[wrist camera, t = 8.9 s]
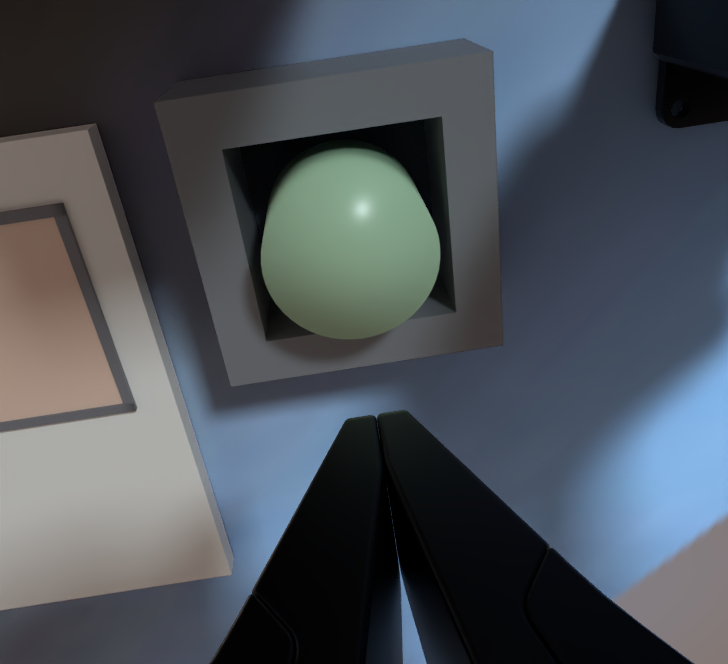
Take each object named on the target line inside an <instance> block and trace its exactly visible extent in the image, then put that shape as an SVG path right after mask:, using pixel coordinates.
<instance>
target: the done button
mask: <svg viewBox="0 0 728 664" xmlns="http://www.w3.org/2000/svg"><path fill="white" fill-rule="evenodd" d="M439 265H440V242H439V236H438V233H437V230H436V226H435V224H434V222H433V220H432V218H431V215H430V213H429V211H428V210H427V208H426V206H425V204H424V202H423V200H422V198H421V196H420V194H419V192H418V190H417V188H416V186H415V184H414V182H413V180H412V178H411V176H410V175H409V173H408V172H407V170H406V169H405V168H404V167H403V165H402V164H401V163H400V162H399V161H398V160H397V159H396V158H394V157H393V156H392V155H391V154H389V153H388V152H386V151H385V150H383V149H381V148H379V147H377V146H375V145H372V144H369V143H366V142H362V141H357V140H344V139H343V140H332V141H328V142H323V143H320V144H317V145H315V146H312V147H310V148H308V149H306V150H305V151H303V152H301V153H300V154H299V155H297V156H296V157H294V158H293V159H292V160H291V161H290V162H289V163H288V164H287V165H286V166H285V168H284V169H283V170H282V171H281V173H280V174H279V176H278V178H277V179H276V181H275V183H274V186H273V188H272V190H271V194H270V197H269V202H268V208H267V215H266V221H265V228H264V234H263V240H262V248H261V267H262V274H263V278H264V281H265V284H266V287H267V289H268V291H269V293H270V295H271V297H272V298H273V300H274V302H275V303H276V305H277V306H278V307H279V308H280V309H281V311H282V312H283V313H284V314H285V315H286V316H288V317H289V318H290V319H291V320H292V321H294V322H295V323H296V324H298V325H299V326H301V327H303V328H305V329H307V330H308V331H311V332H313V333H316V334H318V335H321V336H325V337H329V338H336V339H362V338H368V337H372V336H376V335H379V334H382V333H385V332H387V331H389V330H391V329H393V328H395V327H397V326H398V325H400V324H402V323H403V322H405V321H406V320H407V319H408V318H410V317H411V316H412V315H413V314H414V313H415V312H416V311H417V310H418V309H419V308H420V307H421V306H422V304H423V303H424V302H425V300H426V299H427V297H428V296H429V294H430V292H431V290H432V288H433V286H434V284H435V281H436V278H437V275H438V271H439Z"/></svg>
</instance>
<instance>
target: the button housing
mask: <svg viewBox="0 0 728 664" xmlns="http://www.w3.org/2000/svg"><path fill="white" fill-rule="evenodd" d="M153 103H154V106H155V110H156V114H157V117H158V121H159V125H160V128H161V132H162V136H163V139H164V143H165V147H166V150H167V154H168V158H169V161H170V165H171V169H172V172H173V176H174V180H175V183H176V187H177V191H178V194H179V198H180V202H181V205H182V209H183V213H184V216H185V220H186V224H187V227H188V231H189V235H190V238H191V242H192V246H193V249H194V253H195V257H196V260H197V264H198V268H199V271H200V275H201V279H202V282H203V286H204V290H205V293H206V297H207V301H208V304H209V308H210V312H211V315H212V319H213V323H214V326H215V330H216V334H217V337H218V341H219V345H220V348H221V352H222V356H223V359H224V363H225V367H226V370H227V374H228V378H229V381H230V385H231V387H233V386H239V385H246V384H252V383H259V382H266V381H272V380H279V379H285V378H292V377H298V376H305V375H311V374H318V373H324V372H331V371H337V370H344V369H351V368H357V367H364V366H370V365H377V364H383V363H390V362H396V361H403V360H409V359H416V358H423V357H429V356H436V355H442V354H449V353H455V352H462V351H468V350H475V349H481V348H488V347H494V346H501V345H503V325H502V296H501V268H500V239H499V210H498V182H497V153H496V124H495V96H494V67H493V51H491V50H489V49H487V48H484V47H482V46H480V45H478V44H475V43H473V42H471V41H469V40H466V39H457V40H450V41H444V42H437V43H431V44H424V45H417V46H411V47H404V48H397V49H391V50H384V51H377V52H371V53H364V54H357V55H351V56H344V57H338V58H331V59H324V60H318V61H311V62H304V63H298V64H291V65H284V66H278V67H271V68H265V69H258V70H251V71H245V72H238V73H231V74H225V75H218V76H211V77H205V78H198V79H191V80H185V81H178V82H176V83H175V84H174V85H173V86H171V87H170V88H169V89H168V90H167V91H166V92H165V93H164V94H162V95H161V96H160V97H159V98H158V99H157V100H156V101H155V102H153ZM421 119H424V127H425V138H426V150H427V162H428V174H429V185H430V197H431V209H432V220H433V222H434V224H435V226H436V230H437V233H438V236H439V242H440V265H439V271H438V275H437V278H436V281H435V284H434V286H433V288H432V290H431V292H430V294H429V296H428V297H427V299H426V300H425V302H424V303H423V304H422V306H421V307H420V308H419V309H418V310H417V311H416V312H415V313H414V314H413V315H412V316H411V317H410V318H408V319H407V320H406V321H405V322H403V323H402V324H400V325H398V326H397V327H395V328H393V329H391V330H389V331H387V332H385V333H382V334H379V335H376V336H372V337H368V338H362V339H336V338H329V337H325V336H321V335H318V334H316V333H313V332H311V331H308V330H307V329H305V328H303V327H301V326H299V325H298V324H296V323H295V322H294V321H292V320H291V319H290V318H289V317H288V316H286V315H285V314H284V313H283V312H282V311H281V309H280V308H279V307H278V306H277V305H276V303H275V302H274V300H273V298H272V297H271V295H270V293H269V291H268V289H267V287H266V284H265V281H264V278H263V274H262V267H261V243H260V239H259V234H258V230H257V225H256V220H255V216H254V211H253V207H252V202H251V198H250V193H249V189H248V184H247V179H246V175H245V170H244V166H243V161H242V157H241V152H240V148H239V147H243V146H249V145H256V144H262V143H269V142H276V141H282V140H289V139H296V138H302V137H309V136H315V135H322V134H329V133H335V132H342V131H348V130H355V129H362V128H368V127H375V126H382V125H388V124H395V123H401V122H408V121H415V120H421Z"/></svg>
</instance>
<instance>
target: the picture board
mask: <svg viewBox="0 0 728 664" xmlns="http://www.w3.org/2000/svg"><path fill="white" fill-rule="evenodd" d="M233 561H234V556H233V553H232V550H231V547H230V544H229V541H228V538H227V534H226V531H225V528H224V525H223V522H222V519H221V515H220V512H219V509H218V506H217V503H216V500H215V496H214V493H213V490H212V487H211V484H210V481H209V478H208V474H207V471H206V468H205V465H204V462H203V459H202V455H201V452H200V449H199V446H198V443H197V440H196V437H195V433H194V430H193V427H192V424H191V421H190V418H189V414H188V411H187V408H186V405H185V402H184V399H183V396H182V392H181V389H180V386H179V383H178V380H177V377H176V373H175V370H174V367H173V364H172V361H171V358H170V355H169V351H168V348H167V345H166V342H165V339H164V336H163V332H162V329H161V326H160V323H159V320H158V317H157V314H156V310H155V307H154V304H153V301H152V298H151V295H150V291H149V288H148V285H147V282H146V279H145V276H144V272H143V269H142V266H141V263H140V260H139V257H138V254H137V250H136V247H135V244H134V241H133V238H132V235H131V231H130V228H129V225H128V222H127V219H126V216H125V213H124V209H123V206H122V203H121V200H120V197H119V194H118V190H117V187H116V184H115V181H114V178H113V175H112V172H111V168H110V165H109V162H108V159H107V156H106V153H105V149H104V146H103V143H102V140H101V137H100V134H99V131H98V127H97V124H96V123H94V124H87V125H81V126H74V127H67V128H61V129H54V130H48V131H41V132H34V133H28V134H21V135H14V136H8V137H1V138H0V610H7V609H13V608H20V607H26V606H33V605H39V604H46V603H52V602H58V601H65V600H71V599H78V598H84V597H91V596H97V595H104V594H110V593H117V592H123V591H130V590H136V589H143V588H149V587H156V586H162V585H169V584H175V583H182V582H188V581H195V580H201V579H208V578H214V577H221V576H227V575H232V570H233Z"/></svg>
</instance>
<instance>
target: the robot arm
mask: <svg viewBox="0 0 728 664" xmlns="http://www.w3.org/2000/svg"><path fill="white" fill-rule="evenodd" d="M653 52H654V53H655V54H656V56H657V57H658V58H659V69H658V82H657V95H656V108H655V110H656V116H657V118H658V120H659V121H660V122H661V123H663V124H665V125H667V126H669V127H672V128H683V127H689V126H696V125H703V124H709V123H716V122H722V121H728V0H656V14H655V28H654V42H653ZM680 99H682V101H683V107H682V110H681V111H680V112H679V113H678V114H676V115H674V116H672V112H671V110H672V107H673V105H674V104H675V102H676V101H678V100H680ZM377 423H378V425H377ZM378 429H379V431H378ZM379 436H380V437H379ZM380 443H381V444H380ZM381 449H382V450H381ZM385 475H386V476H385ZM387 488H388V489H387ZM388 495H389V496H388ZM389 501H390V502H389ZM390 508H391V509H390ZM391 514H392V515H391ZM392 520H393V522H392ZM393 527H394V529H393ZM394 533H395V535H394ZM395 540H396V542H395ZM396 546H397V549H396ZM397 553H398V555H397ZM398 559H399V563H398ZM399 564H400V569H401V575H402V579H403V582H404V586H405V590H406V594H407V597H408V601H409V604H410V608H411V611H412V614H413V618H414V621H415V625H416V628H417V632H418V635H419V638H420V642H421V645H422V649H423V652H424V656H425V659H426V662H427V664H694V663H692V662H691V661H690V660H688V659H687V658H686V657H684V656H683V655H682V654H680V653H679V652H678V651H676V650H675V649H674V648H672V647H671V646H670V645H668V644H667V643H666V642H664V641H663V640H662V639H660V638H659V637H658V636H656V635H655V634H654V633H652V632H651V631H650V630H648V629H647V628H646V627H645V626H643V625H642V624H641V623H639V622H638V621H637V620H635V619H634V618H633V617H632V616H630V615H629V614H628V613H627V612H625V611H624V610H623V609H622V608H620V607H619V606H618V605H617V604H615V603H614V602H613V601H612V600H610V599H609V598H608V597H606V596H605V595H604V594H603V593H602V592H601V591H600V590H598V589H597V588H596V587H595V586H594V585H593V584H592V583H590V582H589V581H588V580H587V579H586V578H585V577H584V576H583V575H581V574H580V573H579V572H578V571H577V570H576V569H575V568H574V567H572V566H571V565H570V564H569V563H568V562H567V561H566V560H565V559H564V558H563V557H562V556H561V555H560V554H559V553H558V552H557V551H556V550H555V549H553V548H550V546H549V544H548V543H547V542H546V541H545V540H544V539H543V538H542V537H540V536H539V535H538V534H537V533H536V532H535V531H534V530H533V529H532V528H531V527H530V526H529V525H528V524H527V523H526V522H525V521H523V520H522V519H521V518H520V517H519V516H518V515H517V514H516V513H515V512H514V511H513V510H512V509H511V508H510V507H509V506H508V505H506V504H505V503H504V502H503V501H502V500H501V499H500V498H499V497H498V496H497V495H496V494H495V493H494V492H493V491H492V490H491V489H489V488H488V487H487V486H486V485H485V484H484V483H483V482H482V481H481V480H480V479H479V478H478V477H477V476H476V475H475V474H474V473H472V472H471V471H470V470H469V469H468V468H467V467H466V466H465V465H464V464H463V463H462V462H461V461H460V460H459V459H458V458H457V457H455V456H454V455H453V454H452V453H451V452H450V451H449V450H448V449H447V448H446V447H445V446H444V445H443V444H442V443H441V442H440V441H438V440H437V439H436V438H435V437H434V436H433V435H432V434H431V433H430V432H429V431H428V430H427V429H426V428H425V427H424V426H423V425H421V424H420V423H419V422H418V421H417V420H416V419H415V418H414V417H413V416H412V415H411V414H410V413H409V412H407V411H405V410H401V411H394V412H388V413H382V414H379V415H378V417H377V419H376V417H375V416H373V415H368V416H362V417H355V418H349V419H347V420H346V421H345V422H344V424H343V426H342V428H341V429H340V431H339V433H338V435H337V437H336V439H335V440H334V442H333V444H332V446H331V448H330V449H329V451H328V453H327V455H326V457H325V459H324V460H323V462H322V464H321V466H320V468H319V470H318V471H317V473H316V475H315V477H314V479H313V480H312V482H311V484H310V486H309V488H308V490H307V491H306V493H305V495H304V497H303V499H302V500H301V502H300V504H299V506H298V508H297V510H296V511H295V513H294V515H293V517H292V519H291V521H290V522H289V524H288V526H287V528H286V530H285V531H284V533H283V535H282V537H281V539H280V541H279V542H278V544H277V546H276V548H275V550H274V552H273V553H272V555H271V557H270V559H269V561H268V562H267V564H266V566H265V568H264V570H263V572H262V573H261V575H260V577H259V579H258V581H257V582H256V584H255V586H254V588H253V590H252V594H251V595H249V596H248V598H247V600H246V602H245V604H244V606H243V607H242V609H241V611H240V613H239V615H238V617H237V619H236V620H235V622H234V624H233V625H232V627H231V629H230V630H229V632H228V634H227V636H226V637H225V639H224V641H223V642H222V644H221V646H220V647H219V649H218V651H217V652H216V654H215V656H214V657H213V659H212V660H211V662H210V663H209V664H403V653H402V613H401V584H400V571H399Z"/></svg>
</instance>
